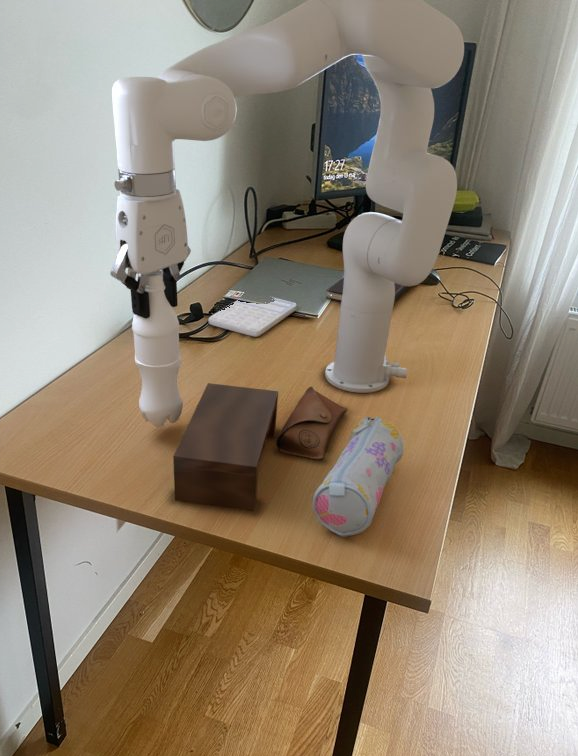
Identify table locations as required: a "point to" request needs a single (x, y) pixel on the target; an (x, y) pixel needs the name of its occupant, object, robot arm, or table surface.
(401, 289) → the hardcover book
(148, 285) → the water bottle
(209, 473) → the wooden block
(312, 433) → the sunglasses case
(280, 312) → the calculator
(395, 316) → the table surface
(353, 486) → the pencil case
